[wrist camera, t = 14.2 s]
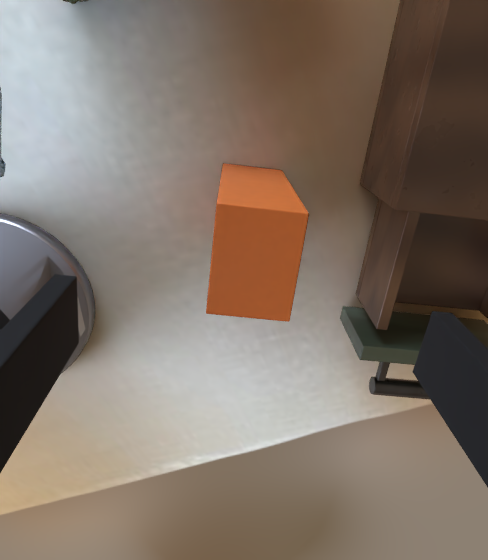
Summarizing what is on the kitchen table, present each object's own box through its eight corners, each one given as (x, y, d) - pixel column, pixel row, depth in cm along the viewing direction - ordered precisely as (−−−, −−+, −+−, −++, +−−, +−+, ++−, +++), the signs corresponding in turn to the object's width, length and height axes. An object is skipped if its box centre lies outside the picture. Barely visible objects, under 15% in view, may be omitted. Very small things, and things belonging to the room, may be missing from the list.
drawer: (462, 376, 40) (501, 425, 34) (329, 364, 39) (345, 412, 33) (543, 162, 32) (610, 177, 27) (380, 141, 32) (413, 152, 26)
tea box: (270, 245, 35) (289, 322, 23) (215, 239, 35) (205, 313, 23) (282, 170, 33) (309, 213, 21) (223, 163, 33) (216, 202, 21)
